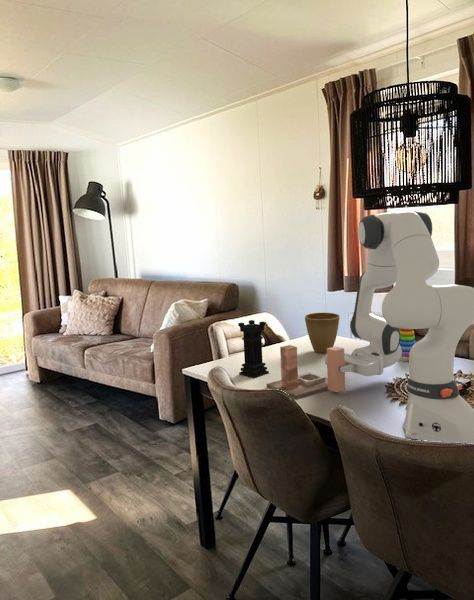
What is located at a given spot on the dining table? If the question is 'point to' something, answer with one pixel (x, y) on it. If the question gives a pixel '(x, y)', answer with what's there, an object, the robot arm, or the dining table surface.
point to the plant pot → (322, 330)
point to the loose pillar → (335, 369)
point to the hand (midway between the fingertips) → (334, 368)
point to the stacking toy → (406, 342)
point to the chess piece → (252, 349)
